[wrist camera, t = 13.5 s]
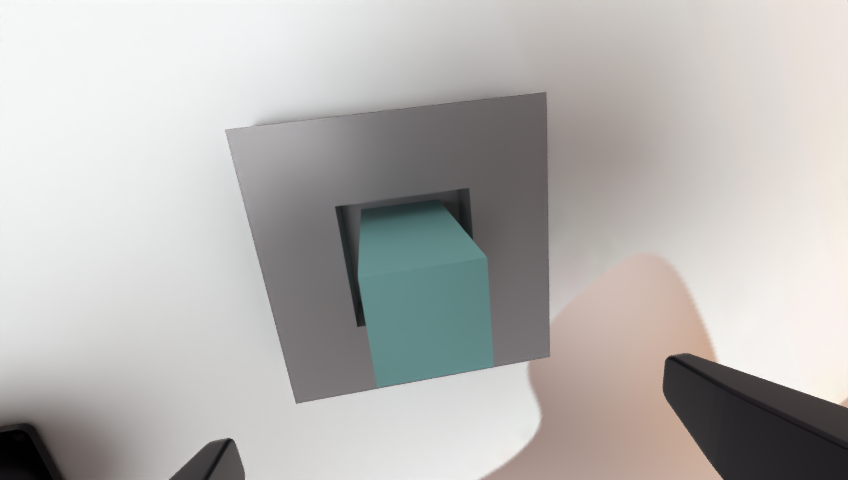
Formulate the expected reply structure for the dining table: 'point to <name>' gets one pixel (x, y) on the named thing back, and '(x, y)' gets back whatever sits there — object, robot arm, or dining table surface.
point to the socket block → (384, 186)
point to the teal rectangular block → (422, 293)
